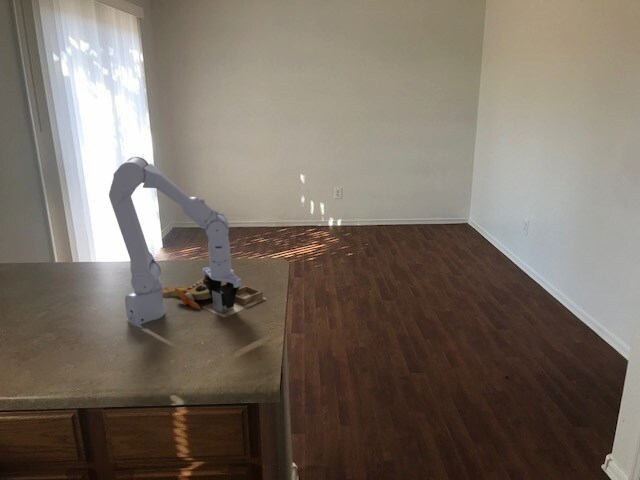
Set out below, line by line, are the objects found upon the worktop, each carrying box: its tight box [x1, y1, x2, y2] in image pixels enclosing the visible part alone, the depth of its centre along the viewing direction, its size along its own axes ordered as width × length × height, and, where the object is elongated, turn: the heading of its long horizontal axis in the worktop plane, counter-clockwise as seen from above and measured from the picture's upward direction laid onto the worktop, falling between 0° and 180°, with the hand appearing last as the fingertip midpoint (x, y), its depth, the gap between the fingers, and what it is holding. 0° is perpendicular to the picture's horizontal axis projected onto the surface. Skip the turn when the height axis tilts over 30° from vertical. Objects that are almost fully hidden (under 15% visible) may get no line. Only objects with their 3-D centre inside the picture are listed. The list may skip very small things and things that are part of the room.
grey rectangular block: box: [212, 288, 234, 314], centre depth 143 cm, size 4×4×6 cm
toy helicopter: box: [162, 275, 224, 310], centre depth 151 cm, size 8×21×14 cm
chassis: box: [201, 285, 268, 318], centre depth 148 cm, size 16×10×3 cm, turn 139°
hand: (223, 304), depth 143 cm, fingers open, 5 cm apart
